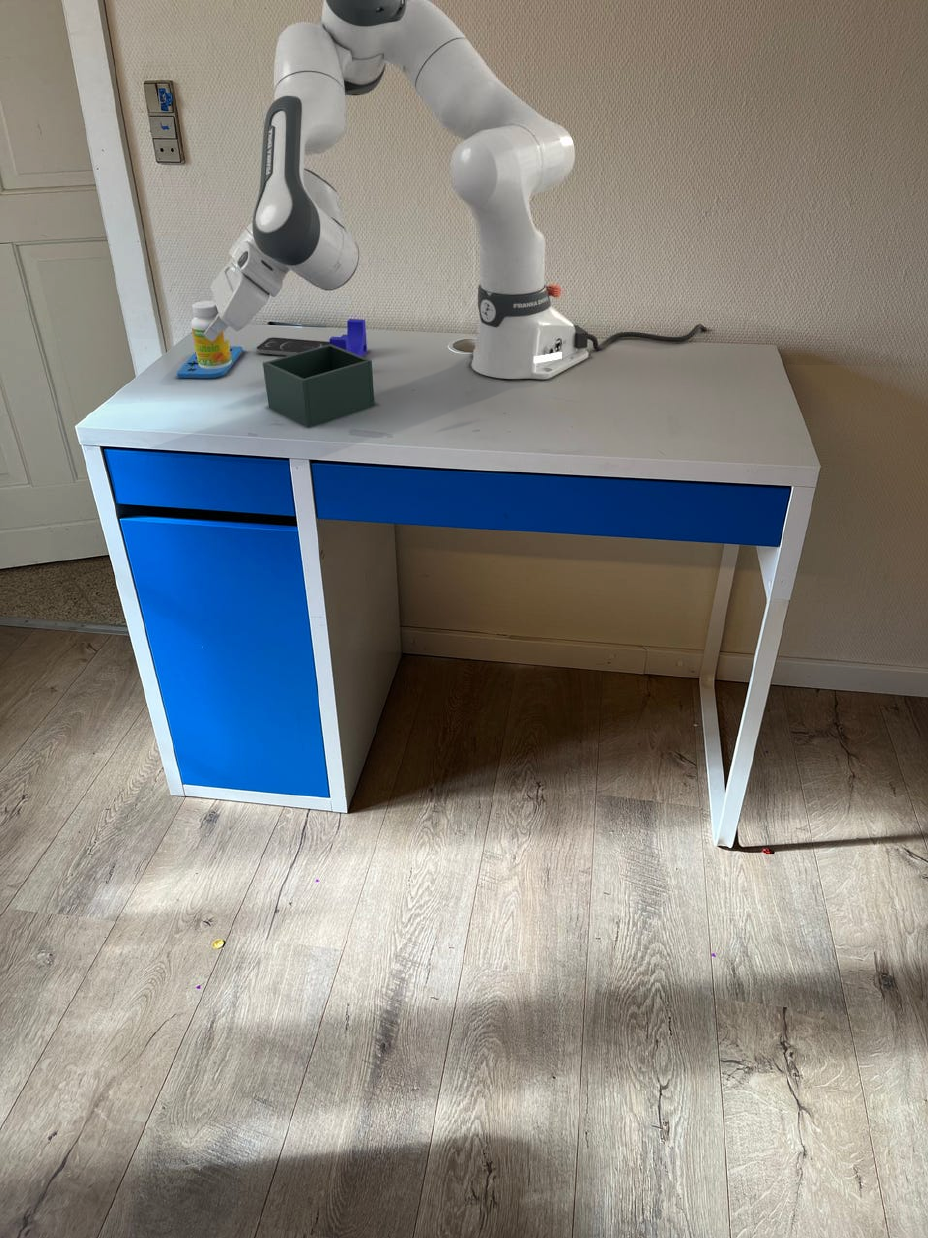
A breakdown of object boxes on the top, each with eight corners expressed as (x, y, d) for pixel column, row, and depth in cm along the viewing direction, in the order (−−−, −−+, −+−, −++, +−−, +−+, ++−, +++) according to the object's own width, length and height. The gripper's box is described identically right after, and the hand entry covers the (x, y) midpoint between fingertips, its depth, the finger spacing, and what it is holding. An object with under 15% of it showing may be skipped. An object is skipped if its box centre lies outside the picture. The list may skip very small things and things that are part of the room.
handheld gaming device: (175, 371, 165) (200, 344, 177) (176, 377, 166) (201, 349, 178) (221, 372, 165) (242, 344, 177) (222, 378, 165) (243, 350, 178)
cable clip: (344, 350, 178) (341, 318, 174) (367, 351, 177) (365, 319, 173) (324, 371, 168) (321, 338, 165) (348, 373, 167) (345, 340, 164)
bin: (334, 387, 162) (330, 343, 157) (375, 405, 155) (371, 360, 150) (268, 407, 154) (262, 362, 150) (307, 427, 147) (302, 380, 143)
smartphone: (329, 355, 173) (253, 349, 175) (329, 360, 173) (254, 353, 176) (342, 342, 179) (269, 336, 181) (343, 347, 179) (270, 341, 182)
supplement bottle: (195, 370, 151) (183, 309, 145) (202, 359, 155) (191, 299, 150) (228, 369, 151) (218, 308, 145) (235, 358, 155) (225, 298, 150)
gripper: (234, 235, 153) (185, 302, 156) (248, 263, 137) (192, 337, 140) (265, 261, 157) (216, 325, 160) (283, 291, 140) (227, 363, 144)
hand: (205, 331), depth 150 cm, fingers closed on supplement bottle, 5 cm apart
